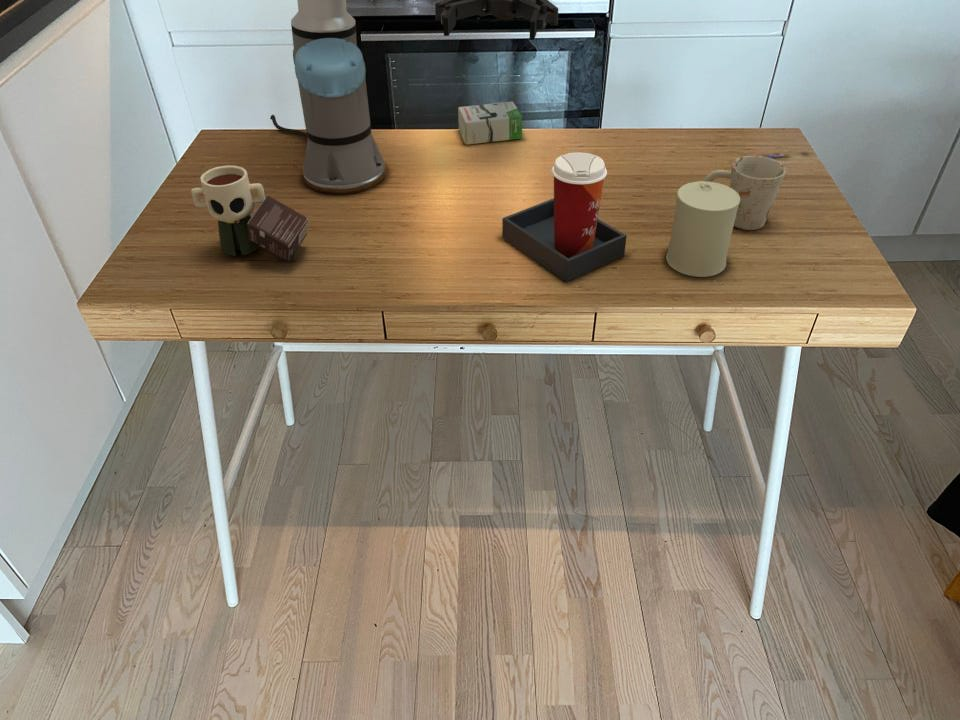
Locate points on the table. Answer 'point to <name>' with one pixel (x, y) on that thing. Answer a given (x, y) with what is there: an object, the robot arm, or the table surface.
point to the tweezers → (775, 155)
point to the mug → (753, 188)
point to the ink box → (489, 123)
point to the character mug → (230, 205)
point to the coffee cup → (576, 201)
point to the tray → (537, 241)
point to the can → (702, 228)
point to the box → (277, 228)
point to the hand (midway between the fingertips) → (488, 28)
